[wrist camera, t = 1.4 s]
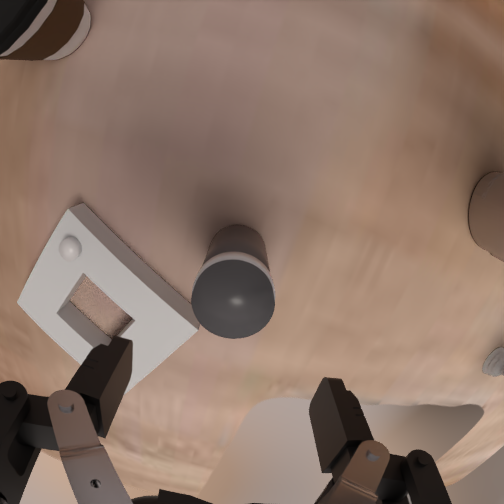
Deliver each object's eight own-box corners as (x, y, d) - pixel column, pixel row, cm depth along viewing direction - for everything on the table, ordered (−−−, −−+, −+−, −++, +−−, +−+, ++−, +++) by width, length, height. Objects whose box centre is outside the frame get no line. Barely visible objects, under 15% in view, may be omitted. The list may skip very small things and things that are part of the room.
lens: (278, 252, 28) (294, 303, 18) (238, 289, 29) (234, 353, 19) (237, 211, 27) (231, 244, 17) (197, 252, 28) (172, 302, 18)
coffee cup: (21, 89, 22) (-58, 79, 10) (39, 5, 18) (-23, -27, 7) (103, 71, 22) (26, 37, 11) (122, -19, 19) (71, -78, 7)
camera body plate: (202, 313, 30) (196, 336, 26) (129, 380, 32) (119, 402, 29) (83, 202, 26) (62, 210, 22) (30, 291, 29) (12, 306, 25)
